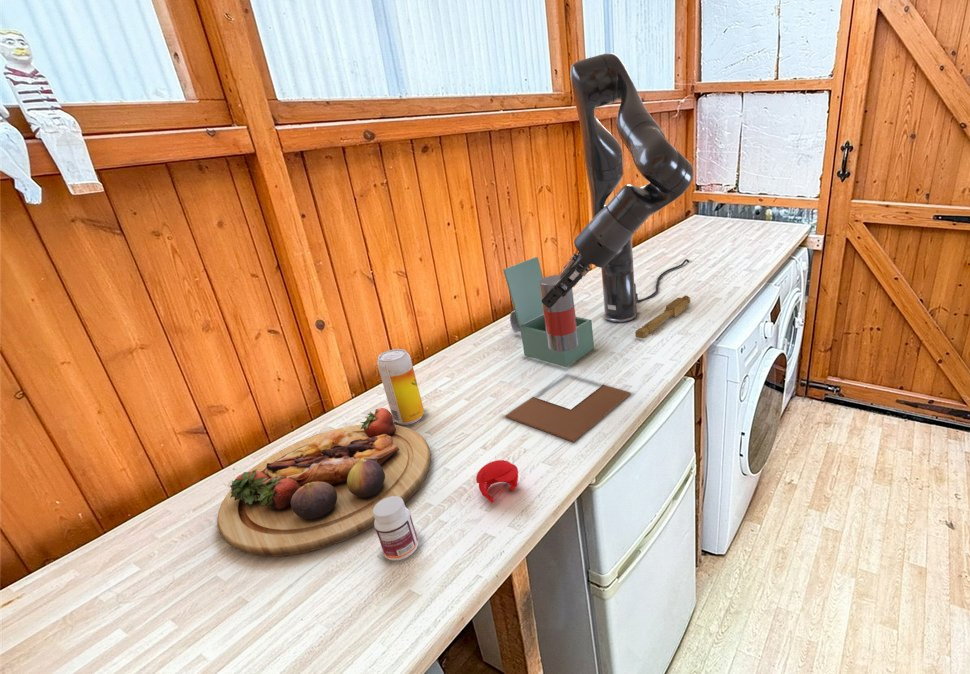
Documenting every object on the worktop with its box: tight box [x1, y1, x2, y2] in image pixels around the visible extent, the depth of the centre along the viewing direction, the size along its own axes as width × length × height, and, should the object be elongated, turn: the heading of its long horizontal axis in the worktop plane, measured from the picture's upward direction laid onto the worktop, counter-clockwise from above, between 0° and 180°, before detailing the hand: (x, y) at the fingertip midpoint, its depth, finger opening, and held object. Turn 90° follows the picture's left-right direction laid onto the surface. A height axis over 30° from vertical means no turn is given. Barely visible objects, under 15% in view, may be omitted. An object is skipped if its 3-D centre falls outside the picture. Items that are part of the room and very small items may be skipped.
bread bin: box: [520, 315, 595, 368], centre depth 132 cm, size 14×12×9 cm
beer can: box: [376, 348, 425, 426], centre depth 106 cm, size 6×6×15 cm
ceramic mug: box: [509, 310, 544, 334], centre depth 147 cm, size 11×8×8 cm
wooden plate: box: [216, 407, 432, 557], centre depth 89 cm, size 32×32×8 cm
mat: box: [505, 384, 631, 443], centre depth 111 cm, size 20×18×1 cm
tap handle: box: [634, 295, 691, 339], centre depth 151 cm, size 3×3×30 cm
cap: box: [475, 459, 519, 504], centre depth 86 cm, size 8×6×6 cm
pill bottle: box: [373, 496, 419, 561], centre depth 75 cm, size 5×5×8 cm
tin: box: [540, 274, 578, 352], centre depth 103 cm, size 6×6×14 cm
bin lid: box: [502, 256, 544, 325], centre depth 132 cm, size 14×12×4 cm
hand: (549, 298), depth 101 cm, fingers closed on tin, 6 cm apart
